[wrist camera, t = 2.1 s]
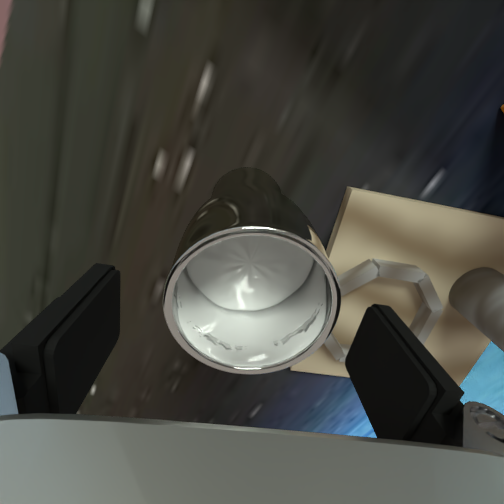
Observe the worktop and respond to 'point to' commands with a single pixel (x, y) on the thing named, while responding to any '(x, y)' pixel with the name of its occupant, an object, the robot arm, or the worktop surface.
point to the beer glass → (251, 280)
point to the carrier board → (416, 277)
